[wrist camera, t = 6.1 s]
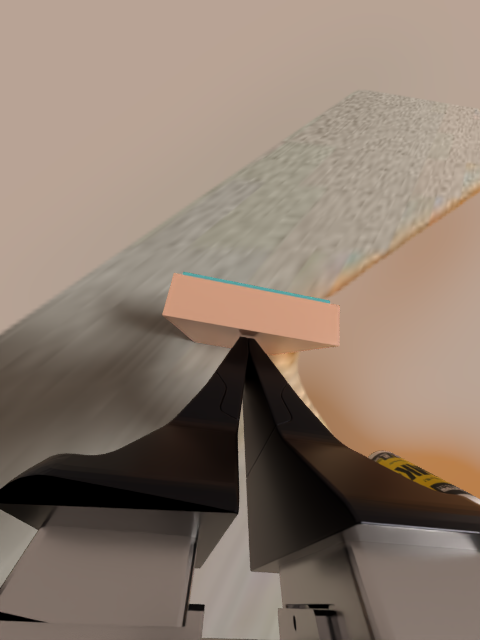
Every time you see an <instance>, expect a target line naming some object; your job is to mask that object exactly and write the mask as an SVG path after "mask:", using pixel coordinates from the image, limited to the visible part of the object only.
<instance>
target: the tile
mask: <svg viewBox="0 0 480 640" xmlns="http://www.w3.org/2000/svg"><path fill="white" fill-rule="evenodd" d="M339 310H340V306H339V305H334V304H330V301H329V300H324V299H319V298H314V297H309V296H303V295H298V294H293V293H288V292H283V291H278V290H273V289H268V288H263V287H258V286H253V285H248V284H243V283H238V282H233V281H227V280H222V279H217V278H212V277H207V276H202V275H197V274H192V273H187V272H183V275H182V274H176V273H174V275H173V278H172V282H171V285H170V289H169V293H168V296H167V300H166V303H165V307H164V310H163V314H162V315H163V316H164V317H165V318H166V319H168V320H169V321H170V322H171V323H172V324H173V325H175V326H176V327H177V328H178V329H179V330H181V331H182V332H183V333H184V334H185V335H186V336H188V337H189V338H190V339H191V340H192V341H194V342H197V343H203V344H209V345H215V346H221V347H227V348H232V347H233V346H234V344H235V343H236V341H237V340H238V338H239V337H240V336H242V337H247V338H253V339H255V340H256V341H257V342H258V344H259V345H260V346H261V348H262V349H263V350H264V352H265V353H266V354H269V355H277V354H285V353H292V352H300V351H307V350H314V349H321V348H329V347H336V346H339V314H340V313H339Z"/></svg>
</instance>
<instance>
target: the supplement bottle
mask: <svg viewBox="0 0 480 640" xmlns="http://www.w3.org/2000/svg"><path fill="white" fill-rule="evenodd" d="M368 458H369V459H371V460H373V461H375V462H377V463H379V464H381V465H383V466H385V467H387V468H389V469H391V470H393V471H395V472H397V473H399V474H401V475H403V476H405V477H406V478H408V479H410V480H412V481H414V482H417V483H419V484H421V485H423V486H425V487H428V488H430V489H433V490H435V491H438V492H442V493H446V494H454V495H461V496H464V497H467V498H469V499H470V500H472V501H474V502H476V503H478V504H480V499H478V498H476V497H475V496H473V495H471V494H469V493H468V492H466V491H464V490H461V489H460V488H458V487H456V486H454V485H452V484H450V483H448V482H446V481H444V480H443V479H441V478H439V477H437V476H435V475H433V474H431V473H429V472H427V471H425V470H423V469H422V468H420V467H418V466H416V465H414V464H412V463H410V462H408V461H406V460H404V459H402V458H401V457H399V456H397V455H395V454H393V453H391V452H387V451H377V452H374V453H373V454H371V455H370V456H369V457H368Z"/></svg>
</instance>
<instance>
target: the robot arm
mask: <svg viewBox="0 0 480 640" xmlns="http://www.w3.org/2000/svg"><path fill="white" fill-rule="evenodd" d="M242 398H243V419H244V441H245V462H246V478H247V479H246V485H247V507H248V529H249V550H250V570H251V571H252V572H268V573H279V575H280V585H281V595H282V606H283V608H278V621H279V633H280V640H480V504H478V503H476V502H474V501H472V500H470V499H469V498H467V497H464V496H461V495H454V494H446V493H442V492H438V491H435V490H433V489H430V488H428V487H425V486H423V485H421V484H419V483H417V482H414V481H412V480H410V479H408V478H406V477H405V476H403V475H401V474H399V473H397V472H395V471H393V470H391V469H389V468H387V467H385V466H383V465H381V464H379V463H377V462H375V461H373V460H371V459H369V458H367V457H365V456H363V455H362V454H359V453H358V452H356V451H354V450H352V449H350V448H348V447H347V446H345V445H344V444H342V443H341V442H340V441H339V440H338V439H336V438H335V437H334V436H333V435H332V434H331V433H330V431H329V430H328V429H327V428H326V427H325V426H324V425H323V424H322V423H321V421H320V420H319V419H318V418H317V417H316V416H315V415H314V414H313V413H312V411H311V410H310V409H309V408H308V407H307V406H306V405H305V404H304V402H303V401H302V400H301V399H300V398H299V396H298V395H297V394H296V393H295V391H294V390H293V389H292V388H291V386H290V385H289V384H288V383H287V381H286V380H285V378H284V377H283V376H282V374H281V373H280V372H279V370H278V369H277V368H276V366H275V365H274V364H273V362H272V361H271V360H270V358H269V357H268V356H267V354H266V353H265V352H264V350H263V349H262V348H261V346H260V345H259V344H258V342H257V341H256V340H255V339H253V338H247V337H242V336H240V337H239V338H238V340H237V341H236V343H235V344H234V346H233V347H232V348H231V350H230V351H229V353H228V354H227V356H226V357H225V359H224V360H223V361H222V363H221V364H220V366H219V367H218V369H217V370H216V372H215V373H214V374H213V376H212V377H211V378H210V380H209V381H208V382H207V384H206V385H205V386H204V387H203V388H202V390H201V391H200V392H199V393H198V394H197V395H196V396H195V397H194V398H193V399H192V400H191V401H190V402H189V404H188V405H187V406H186V407H185V408H184V409H183V410H182V411H181V412H180V413H179V414H178V415H177V416H176V417H175V418H174V419H173V420H172V421H170V422H169V423H168V424H166V425H165V426H163V427H161V428H159V429H157V430H155V431H153V432H151V433H150V434H148V435H146V436H144V437H142V438H140V439H138V440H136V441H134V442H132V443H130V444H128V445H126V446H124V447H122V448H120V449H118V450H116V451H113V452H110V453H106V454H101V455H80V454H67V453H66V454H58V455H54V456H51V457H49V458H47V459H45V460H43V461H42V462H40V463H38V464H36V465H35V466H33V467H31V468H29V469H28V470H26V471H24V472H23V473H21V474H20V475H18V476H17V477H15V478H14V479H13V480H11V481H10V482H9V483H7V484H6V485H5V486H4V487H3V488H1V489H0V509H1V510H3V511H5V512H6V513H8V514H10V515H12V516H14V517H16V518H17V519H19V520H21V521H23V522H25V523H27V524H28V525H30V526H32V527H34V528H36V529H37V530H38V531H37V533H36V534H35V536H34V537H33V539H32V540H31V542H30V543H29V545H28V546H27V548H26V550H25V551H24V553H23V554H22V556H21V557H20V559H19V560H18V562H17V563H16V565H15V566H14V568H13V569H12V571H11V572H10V574H9V575H8V577H7V578H6V580H5V581H4V583H3V584H2V586H1V588H0V640H256V639H219V638H202V628H203V618H204V606H205V605H201V604H189V602H190V595H191V588H192V581H193V574H194V568H201V566H202V565H203V564H204V562H205V561H206V559H207V558H208V556H209V555H210V553H211V552H212V551H213V549H214V548H215V546H216V545H217V543H218V542H219V540H220V539H221V538H222V536H223V535H224V533H225V532H226V530H227V529H228V528H229V526H230V525H231V523H232V522H233V520H234V519H235V517H236V516H237V515H238V512H239V469H238V427H239V419H240V412H241V405H242Z"/></svg>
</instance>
